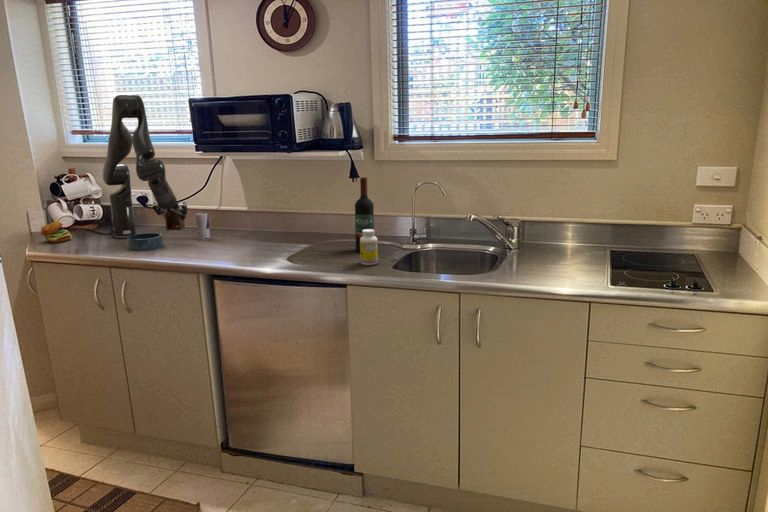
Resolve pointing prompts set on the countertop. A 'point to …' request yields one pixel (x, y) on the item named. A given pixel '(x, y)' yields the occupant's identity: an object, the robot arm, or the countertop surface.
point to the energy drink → (202, 226)
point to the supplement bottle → (368, 248)
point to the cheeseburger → (55, 232)
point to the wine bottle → (363, 213)
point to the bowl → (145, 241)
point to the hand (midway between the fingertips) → (176, 218)
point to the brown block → (174, 221)
